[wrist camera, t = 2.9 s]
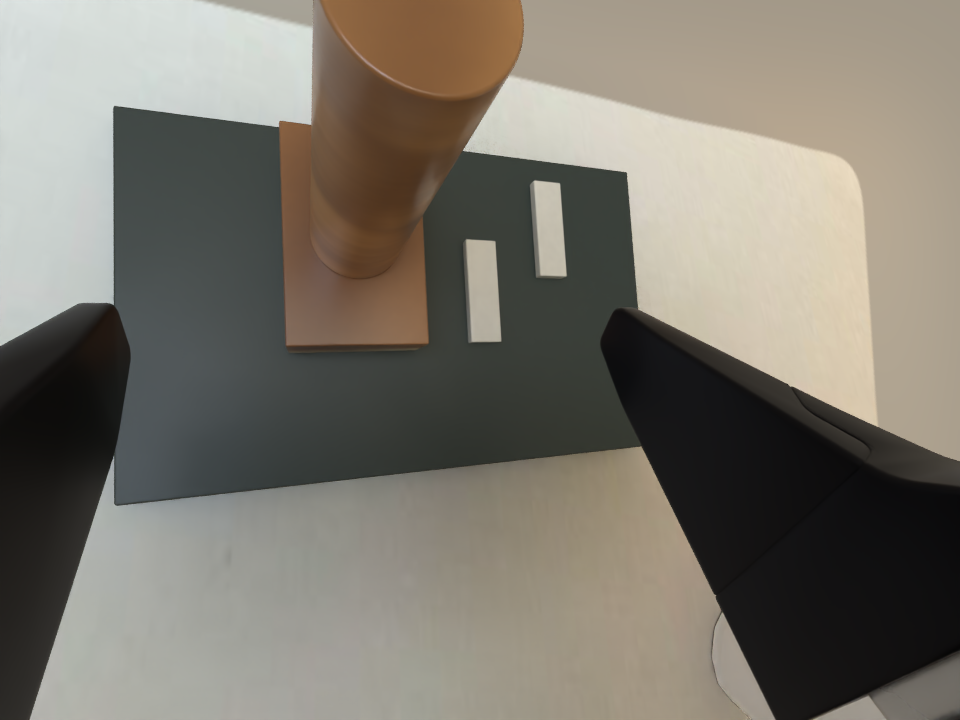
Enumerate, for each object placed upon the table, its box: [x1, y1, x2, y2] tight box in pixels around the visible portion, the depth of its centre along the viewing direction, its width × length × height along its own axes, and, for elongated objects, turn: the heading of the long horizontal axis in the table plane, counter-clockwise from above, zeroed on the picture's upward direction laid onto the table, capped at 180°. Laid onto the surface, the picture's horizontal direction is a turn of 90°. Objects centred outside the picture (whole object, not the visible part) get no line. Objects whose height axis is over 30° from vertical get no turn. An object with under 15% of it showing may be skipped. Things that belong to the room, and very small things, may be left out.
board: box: [113, 106, 641, 506], centre depth 21 cm, size 22×14×1 cm, turn 93°
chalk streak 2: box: [530, 181, 567, 279], centre depth 22 cm, size 1×4×1 cm, turn 3°
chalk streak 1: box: [463, 239, 501, 343], centre depth 21 cm, size 1×4×1 cm, turn 3°
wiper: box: [279, 0, 524, 353], centre depth 13 cm, size 5×8×13 cm, turn 3°
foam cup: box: [712, 612, 886, 720], centre depth 20 cm, size 10×9×13 cm
